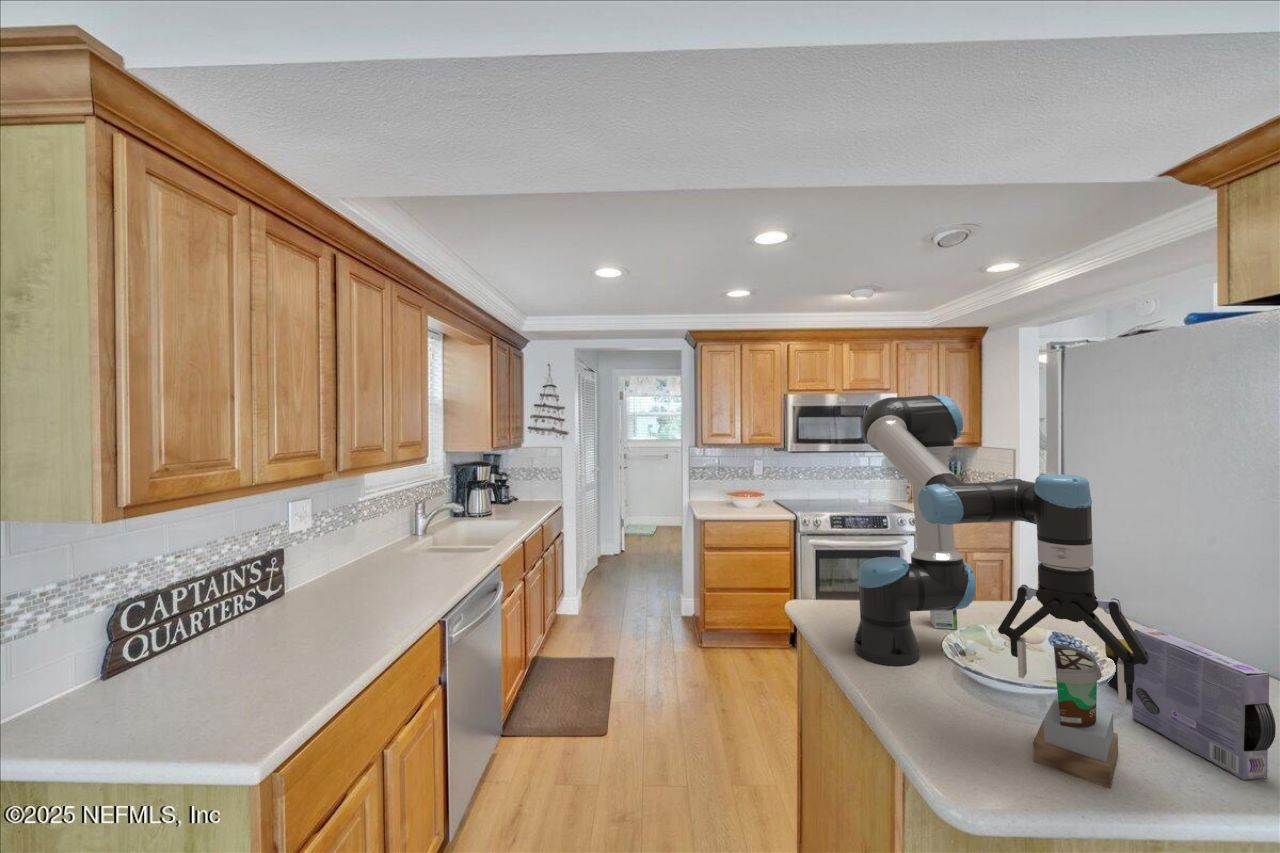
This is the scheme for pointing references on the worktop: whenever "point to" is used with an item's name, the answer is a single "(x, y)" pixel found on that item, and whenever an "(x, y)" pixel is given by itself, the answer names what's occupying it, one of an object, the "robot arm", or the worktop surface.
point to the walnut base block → (1076, 760)
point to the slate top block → (1080, 734)
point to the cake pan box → (1205, 703)
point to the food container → (1076, 686)
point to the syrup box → (944, 619)
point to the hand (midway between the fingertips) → (1070, 687)
